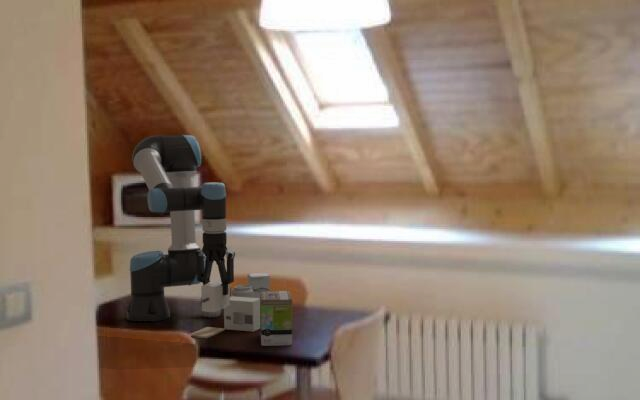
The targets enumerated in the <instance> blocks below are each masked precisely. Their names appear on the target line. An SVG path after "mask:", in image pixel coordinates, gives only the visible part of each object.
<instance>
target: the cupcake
mask: <svg viewBox="0 0 640 400" xmlns="http://www.w3.org/2000/svg"><path fill="white" fill-rule="evenodd" d="M197 305H198V306H199V308H200V313H201V315H202V317H204V318H207V317H208V318H209V319H211V318H212V317H213V318H217V317H220V315H221V313H222V309H221V310H219V311H216V312H206V311H202V296H201V297H200V302H197ZM213 318H212V319H213Z"/></svg>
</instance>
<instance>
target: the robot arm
mask: <svg viewBox="0 0 640 400" xmlns="http://www.w3.org/2000/svg"><path fill="white" fill-rule="evenodd" d="M199 144H200V143H199V142H198V139H197V138H196V137H195V136H194V135H190V134H189V135H188V134H187V135H186V134H175V135H172V134H171V135H151V136H148V137H145V138H143V139H142V140H141V141H140V142H138V143H137V145H136V146H135V147H134V149H133V150H132V154H131V156H132V157H131V161H132V164H133V166H134V169H136V170H137V172H139V173H140V174H141V176H142V178H143V181H144V182H145V184H146V187H147V188H148V192H147V197H146V198H147V205H148V209H149V211H150V212H151V213H169V212H170V230H171V231H170V232H171V233H170V234H171V245H170V246H169V247H168V248H167V254H164V252H163V251H162V250H150V251H145V252H141V253H136V254H134V255H133V256H132V257H131V258H130V261H129V262H130V263H129V272H130V275H129V276H130V295H131V296H130V300H129V304H128V307H127V311H126V319H127V320H128V321H130V320H131V322H135V321H140V322H139V323H142V322H141V321H145V322H144V323H146V321H152V322H156V321H157V322H158V321H162V320H167V319H169V318H170V317H171V310H170V308H169V305H168V302H167V300H166V299H167V298H166V296H165V288H170V287H171V288H172V287H179V286H180V287H181V286H188V287H189V286H192V285H193V286H194V285H199V284H201V283H202V286H203V285H206V284H208V283H211V274H212V269H213V265H214V262H215V264H216V265H217V268H218V273H219V276H220V277H219V278H220V280H221V282H222V284H221V285H220V306H223V305H226V295H228V284H232V283H234V281H235V271H234V270H235V267H234V266H235V264H234V263H235V261H234V260H235V257H236V252H235V251H230V250H228V246H227V237H228V236H227V232H226V231H227V203H226V202H227V198H226V197H227V192H226V185H225V184H224V183H223V182H217V181H216V182H204V183H202V185H198V186H194V180H193V179H194V176H195V175H196V173H197V168H199V167H201V165H202V152H201V147H200V145H199ZM195 211H201V215H202V216H201V217H202V218H201V219H202V220H201V221H202V228H201V229H202V231H203V233H202V244H203V245H202V247H201V246H200V245H199V244H197V242H196V241H197V240H196V239H197V238H196V237H197V236H196V221H195V220H196V219H195V217H196V215H195ZM225 257H226V259H225Z"/></svg>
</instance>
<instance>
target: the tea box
mask: <svg viewBox="0 0 640 400" xmlns="http://www.w3.org/2000/svg"><path fill="white" fill-rule="evenodd" d="M259 330H260V345H261V346H262V347H264V346H265V347H275V346H277V347H278V346H292V345H293V299H292V295H291V291H289V290H275V291H274V290H272V291H271V290H270V291H265V292H260V329H259Z"/></svg>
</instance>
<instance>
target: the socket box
mask: <svg viewBox="0 0 640 400" xmlns="http://www.w3.org/2000/svg"><path fill="white" fill-rule="evenodd" d="M223 324H224V325H223V326H224V327H223V328H225V330H232V331H242V332H244V331H245V332H252V333H253V332H255V331H258V330H260V298H248V297H234V296H232V295H231V297H230V306H228V307H226V308H223Z"/></svg>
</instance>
